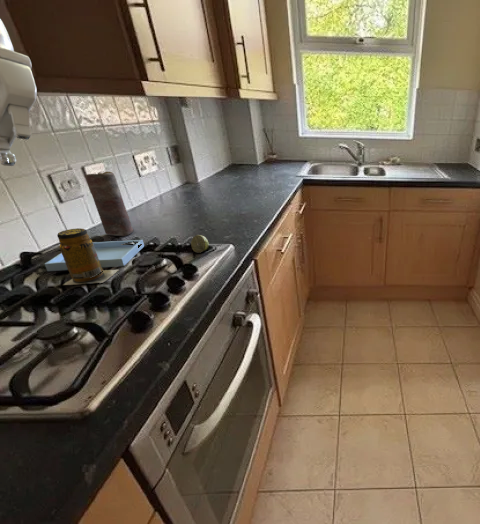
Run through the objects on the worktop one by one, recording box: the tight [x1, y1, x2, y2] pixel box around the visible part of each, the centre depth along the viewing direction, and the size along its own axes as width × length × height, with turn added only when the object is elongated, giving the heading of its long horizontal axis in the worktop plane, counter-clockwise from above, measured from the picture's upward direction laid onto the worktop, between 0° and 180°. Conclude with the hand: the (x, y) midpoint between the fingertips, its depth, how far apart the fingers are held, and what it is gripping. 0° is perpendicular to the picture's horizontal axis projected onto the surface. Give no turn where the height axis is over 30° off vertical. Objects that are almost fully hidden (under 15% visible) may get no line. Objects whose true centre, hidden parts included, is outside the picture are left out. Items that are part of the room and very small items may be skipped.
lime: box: [190, 234, 210, 254], centre depth 96 cm, size 4×5×5 cm
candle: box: [84, 171, 134, 237], centre depth 104 cm, size 8×7×20 cm
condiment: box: [56, 227, 119, 286], centre depth 79 cm, size 7×8×12 cm
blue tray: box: [44, 239, 145, 272], centre depth 91 cm, size 17×14×2 cm
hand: (16, 151), depth 58 cm, fingers open, 8 cm apart
